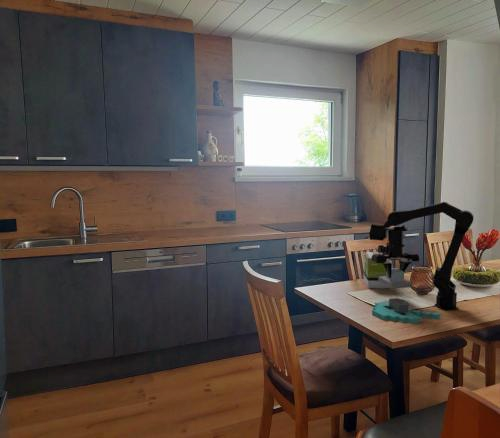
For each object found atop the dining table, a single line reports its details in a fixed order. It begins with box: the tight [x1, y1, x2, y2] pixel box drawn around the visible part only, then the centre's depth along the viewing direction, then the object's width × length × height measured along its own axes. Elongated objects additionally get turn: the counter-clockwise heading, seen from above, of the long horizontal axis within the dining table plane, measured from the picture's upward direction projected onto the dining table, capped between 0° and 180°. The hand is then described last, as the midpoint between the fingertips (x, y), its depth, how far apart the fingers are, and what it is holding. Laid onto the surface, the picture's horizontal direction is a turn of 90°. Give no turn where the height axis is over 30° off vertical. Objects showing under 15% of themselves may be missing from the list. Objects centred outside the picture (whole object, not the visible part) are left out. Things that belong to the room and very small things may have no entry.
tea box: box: [363, 251, 390, 289], centre depth 192 cm, size 15×10×15 cm, turn 172°
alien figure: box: [371, 298, 441, 324], centre depth 151 cm, size 20×2×20 cm
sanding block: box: [378, 267, 413, 289], centre depth 166 cm, size 9×12×6 cm
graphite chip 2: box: [393, 301, 410, 313], centre depth 149 cm, size 4×4×3 cm
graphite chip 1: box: [388, 297, 404, 308], centre depth 153 cm, size 4×4×3 cm
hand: (395, 277), depth 166 cm, fingers closed on sanding block, 4 cm apart
